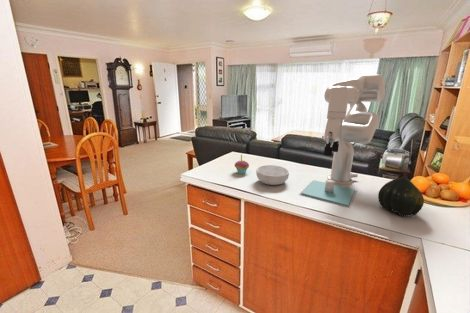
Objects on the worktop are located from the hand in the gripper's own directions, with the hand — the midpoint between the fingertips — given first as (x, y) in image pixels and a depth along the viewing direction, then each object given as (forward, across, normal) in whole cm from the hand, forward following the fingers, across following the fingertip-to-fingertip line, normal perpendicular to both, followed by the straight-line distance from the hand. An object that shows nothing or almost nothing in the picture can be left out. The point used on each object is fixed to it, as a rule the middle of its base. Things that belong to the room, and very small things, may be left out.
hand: (330, 153), depth 107 cm
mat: (+20, -1, +1) cm, 20 cm away
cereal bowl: (+20, +5, -26) cm, 34 cm away
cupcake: (+20, +3, -48) cm, 52 cm away
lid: (+19, 0, +1) cm, 19 cm away
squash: (+20, -2, +28) cm, 35 cm away
